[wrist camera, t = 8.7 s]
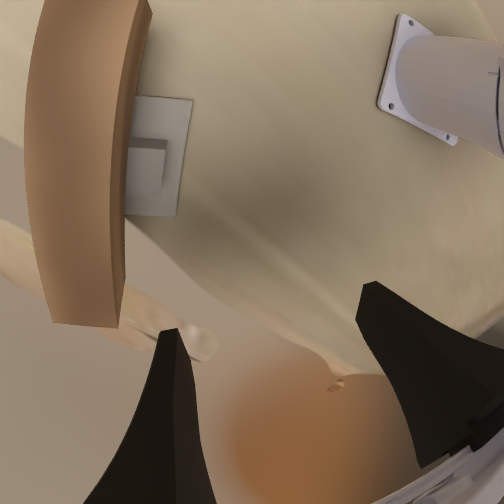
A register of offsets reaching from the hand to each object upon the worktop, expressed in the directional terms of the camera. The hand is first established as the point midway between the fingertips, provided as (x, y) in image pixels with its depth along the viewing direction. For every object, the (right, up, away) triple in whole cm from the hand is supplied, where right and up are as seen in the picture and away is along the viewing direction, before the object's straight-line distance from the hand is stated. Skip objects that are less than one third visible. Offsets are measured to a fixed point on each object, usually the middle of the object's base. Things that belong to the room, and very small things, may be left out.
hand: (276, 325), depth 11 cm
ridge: (-9, +8, +4) cm, 13 cm away
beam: (-8, +7, +1) cm, 11 cm away
